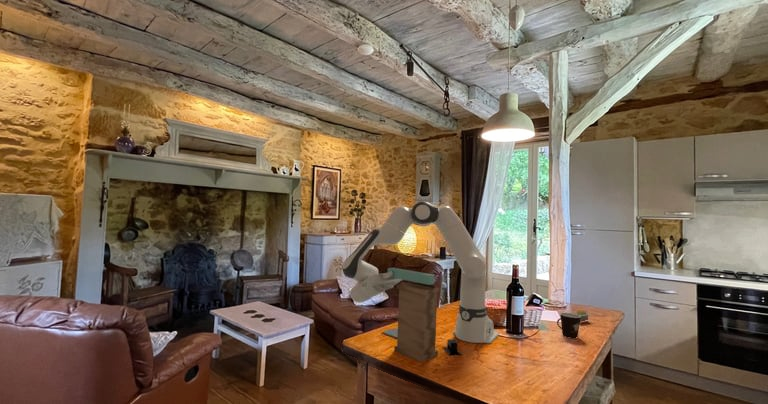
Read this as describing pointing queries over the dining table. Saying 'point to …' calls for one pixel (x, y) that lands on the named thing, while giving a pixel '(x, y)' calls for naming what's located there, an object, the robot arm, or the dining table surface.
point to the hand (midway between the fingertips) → (396, 272)
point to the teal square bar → (412, 276)
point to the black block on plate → (452, 348)
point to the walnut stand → (417, 320)
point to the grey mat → (391, 332)
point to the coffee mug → (569, 324)
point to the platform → (583, 315)
